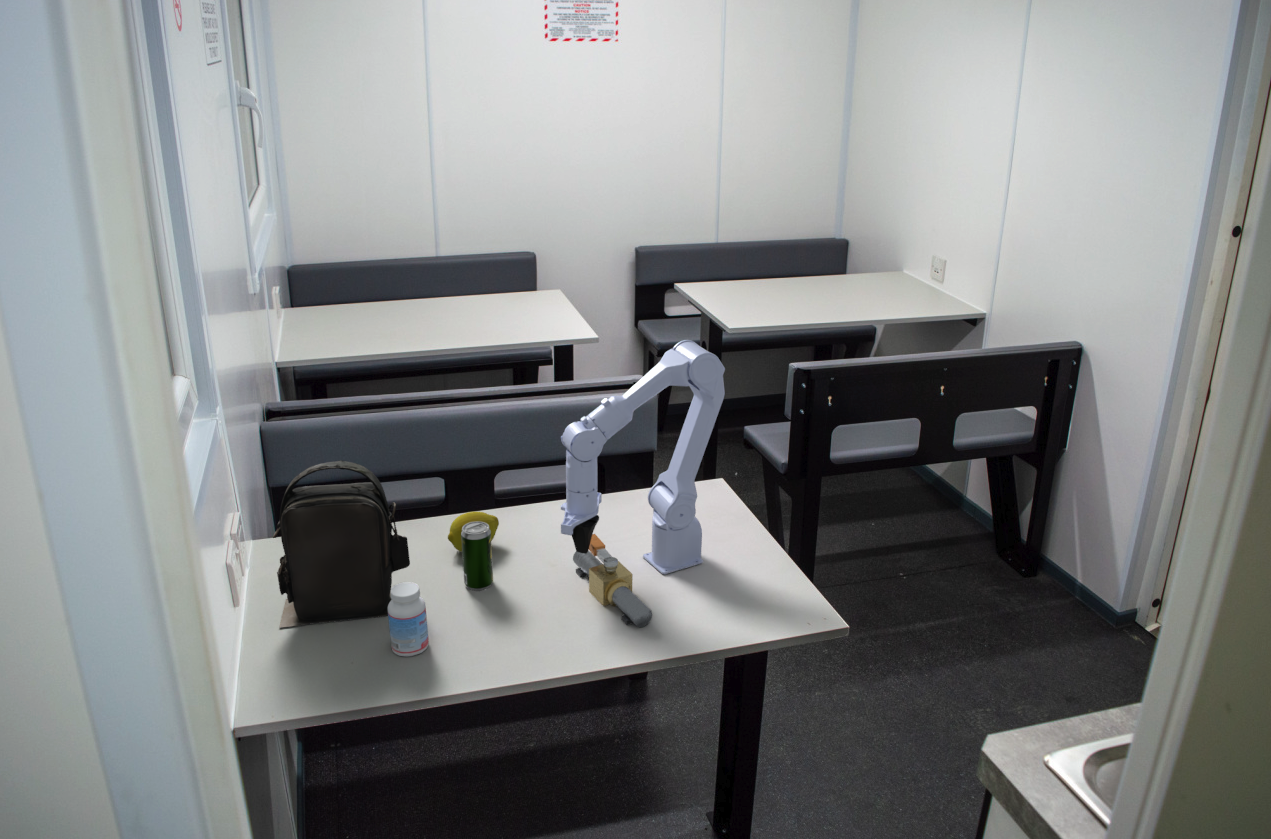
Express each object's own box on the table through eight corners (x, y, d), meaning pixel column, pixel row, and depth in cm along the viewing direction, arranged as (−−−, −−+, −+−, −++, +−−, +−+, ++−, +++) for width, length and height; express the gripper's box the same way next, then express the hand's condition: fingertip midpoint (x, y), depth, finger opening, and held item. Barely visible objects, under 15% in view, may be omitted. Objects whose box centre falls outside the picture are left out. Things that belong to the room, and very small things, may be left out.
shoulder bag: (414, 586, 167) (401, 448, 157) (414, 613, 159) (401, 470, 149) (286, 600, 162) (264, 459, 152) (279, 629, 154) (256, 481, 144)
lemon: (453, 564, 175) (451, 527, 172) (442, 546, 181) (440, 511, 178) (506, 552, 179) (505, 516, 176) (494, 535, 186) (492, 500, 183)
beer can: (471, 595, 164) (467, 537, 160) (459, 582, 169) (456, 525, 164) (498, 586, 167) (495, 529, 163) (486, 574, 171) (483, 518, 167)
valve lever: (620, 571, 163) (620, 560, 162) (607, 574, 162) (607, 563, 161) (595, 543, 172) (595, 533, 171) (583, 546, 171) (583, 536, 170)
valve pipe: (594, 563, 176) (594, 539, 175) (658, 624, 157) (658, 598, 155) (567, 570, 174) (567, 546, 172) (628, 634, 154) (628, 607, 152)
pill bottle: (431, 653, 148) (426, 595, 144) (393, 661, 146) (387, 602, 142) (426, 633, 153) (421, 576, 149) (389, 640, 151) (383, 582, 147)
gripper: (577, 467, 171) (577, 530, 176) (544, 499, 158) (546, 566, 163) (611, 473, 169) (611, 537, 174) (581, 505, 156) (581, 573, 161)
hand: (582, 551), depth 168 cm, fingers closed
